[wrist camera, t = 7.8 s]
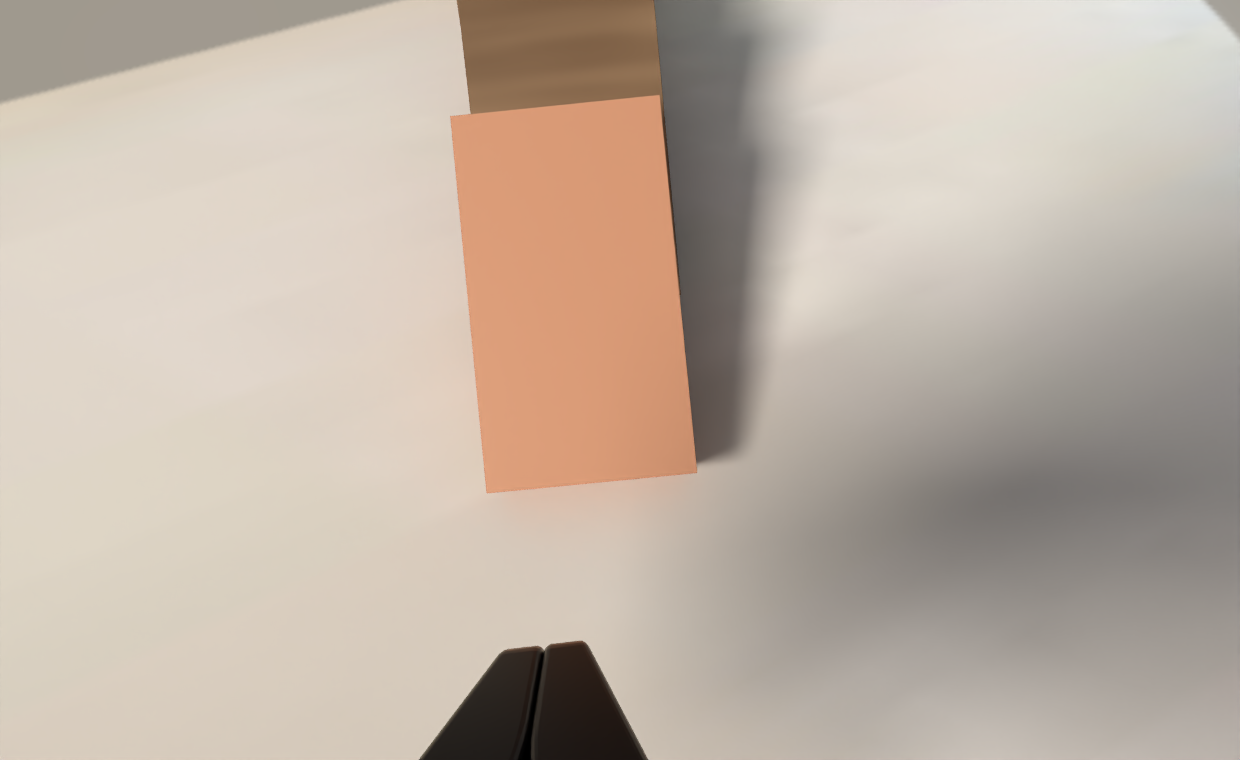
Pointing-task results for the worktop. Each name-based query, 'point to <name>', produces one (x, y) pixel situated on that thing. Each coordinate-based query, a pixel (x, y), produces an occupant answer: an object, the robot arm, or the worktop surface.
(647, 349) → the terracotta domino
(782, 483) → the worktop surface
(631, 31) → the walnut domino
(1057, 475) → the worktop surface
